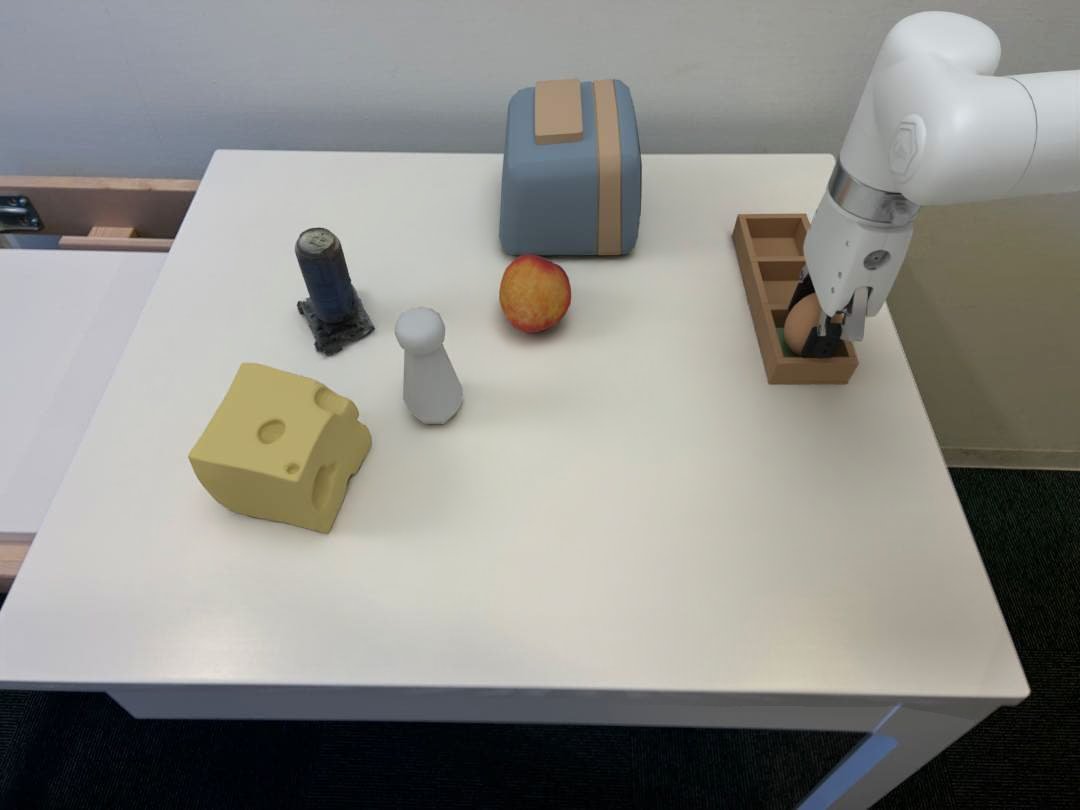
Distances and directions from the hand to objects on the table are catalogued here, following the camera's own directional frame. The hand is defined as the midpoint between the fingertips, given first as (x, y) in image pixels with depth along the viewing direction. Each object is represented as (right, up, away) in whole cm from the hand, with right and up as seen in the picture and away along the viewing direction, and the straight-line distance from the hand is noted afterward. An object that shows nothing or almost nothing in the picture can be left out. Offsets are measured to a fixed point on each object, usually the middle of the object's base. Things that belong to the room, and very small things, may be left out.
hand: (810, 332), depth 71 cm
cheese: (-50, -15, -6) cm, 52 cm away
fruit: (-28, +2, +6) cm, 29 cm away
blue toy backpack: (-24, +16, +16) cm, 33 cm away
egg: (0, -2, +2) cm, 3 cm away
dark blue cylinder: (-50, +2, +6) cm, 50 cm away
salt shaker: (-38, -8, -1) cm, 39 cm away
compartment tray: (0, +4, +7) cm, 8 cm away
